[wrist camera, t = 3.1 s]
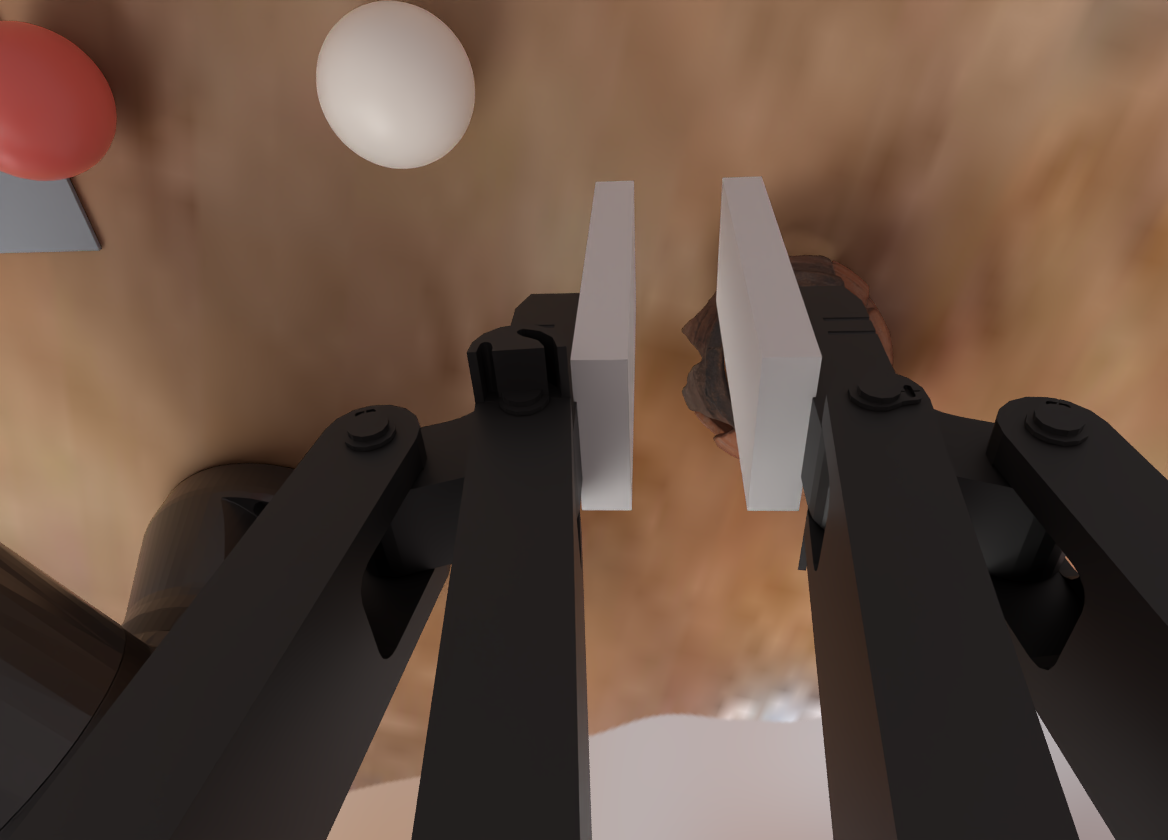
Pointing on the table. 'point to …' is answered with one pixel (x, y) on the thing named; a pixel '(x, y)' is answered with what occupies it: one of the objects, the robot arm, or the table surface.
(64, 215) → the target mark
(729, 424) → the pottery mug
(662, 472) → the table surface
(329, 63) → the cue ball
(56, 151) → the red ball
